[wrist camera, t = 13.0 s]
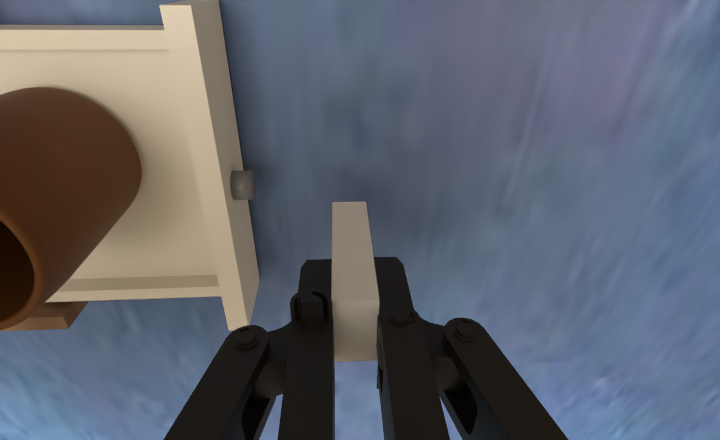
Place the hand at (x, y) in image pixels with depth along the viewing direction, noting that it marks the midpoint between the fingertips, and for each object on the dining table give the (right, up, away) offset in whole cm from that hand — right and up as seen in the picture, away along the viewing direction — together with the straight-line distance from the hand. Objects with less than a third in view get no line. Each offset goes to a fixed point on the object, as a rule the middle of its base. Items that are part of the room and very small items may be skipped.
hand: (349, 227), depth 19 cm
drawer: (-14, +3, +5) cm, 16 cm away
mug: (-17, +3, +4) cm, 18 cm away
